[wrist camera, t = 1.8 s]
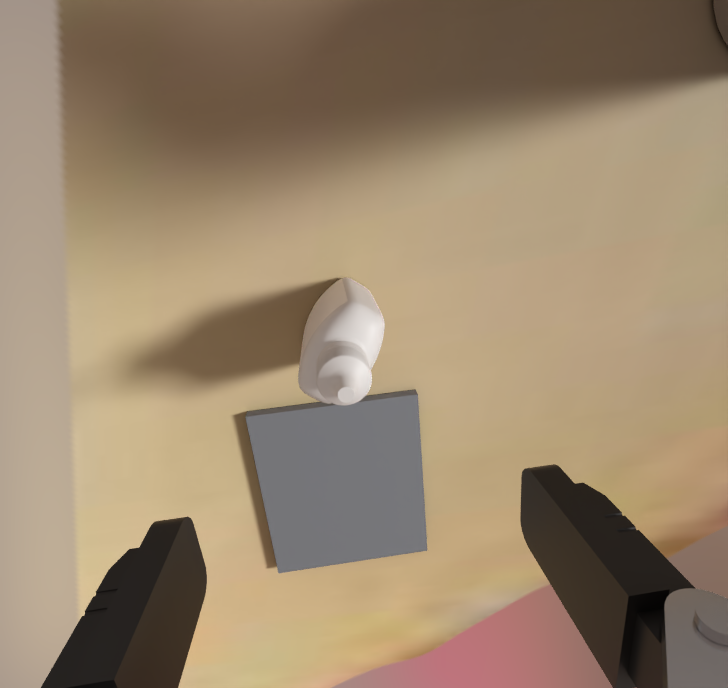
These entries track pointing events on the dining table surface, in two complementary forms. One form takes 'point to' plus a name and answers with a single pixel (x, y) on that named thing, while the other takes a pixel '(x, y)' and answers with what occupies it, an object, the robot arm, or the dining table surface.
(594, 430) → the dining table surface
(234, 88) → the dining table surface
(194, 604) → the robot arm
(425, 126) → the dining table surface
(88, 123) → the dining table surface
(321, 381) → the eye dropper bottle
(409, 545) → the slate mat
